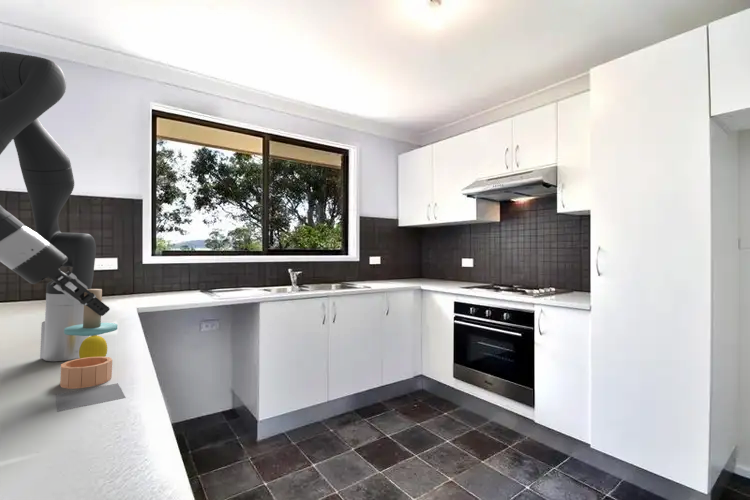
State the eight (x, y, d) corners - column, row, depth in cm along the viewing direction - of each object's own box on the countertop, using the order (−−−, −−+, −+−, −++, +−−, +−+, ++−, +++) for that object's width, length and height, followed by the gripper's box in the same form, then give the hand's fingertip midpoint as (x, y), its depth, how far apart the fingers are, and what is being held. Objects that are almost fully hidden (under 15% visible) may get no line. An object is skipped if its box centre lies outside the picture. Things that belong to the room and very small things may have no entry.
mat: (55, 396, 71) (55, 394, 71) (117, 385, 77) (117, 383, 77) (57, 413, 63) (57, 411, 63) (125, 399, 70) (125, 397, 70)
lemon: (91, 371, 86) (92, 337, 86) (72, 369, 87) (73, 335, 87) (112, 364, 91) (113, 332, 91) (94, 362, 92) (95, 331, 93)
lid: (62, 332, 78) (64, 288, 78) (114, 327, 84) (115, 286, 84) (65, 340, 71) (67, 293, 71) (120, 334, 77) (122, 290, 77)
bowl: (59, 381, 78) (60, 360, 79) (108, 373, 84) (109, 354, 84) (60, 393, 72) (61, 370, 72) (113, 384, 78) (114, 363, 78)
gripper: (51, 242, 67) (126, 302, 76) (46, 241, 77) (113, 295, 86) (9, 270, 64) (94, 330, 72) (9, 266, 73) (84, 319, 82)
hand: (104, 311), depth 79 cm, fingers closed on lid, 3 cm apart
